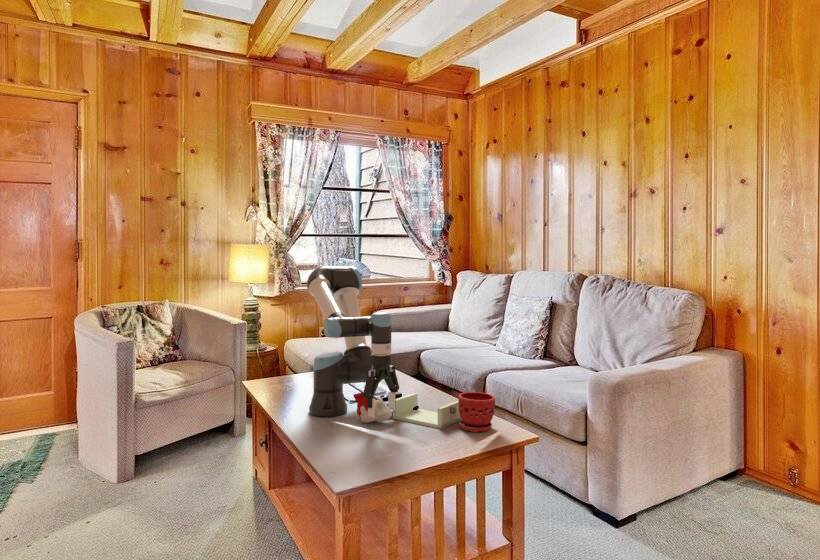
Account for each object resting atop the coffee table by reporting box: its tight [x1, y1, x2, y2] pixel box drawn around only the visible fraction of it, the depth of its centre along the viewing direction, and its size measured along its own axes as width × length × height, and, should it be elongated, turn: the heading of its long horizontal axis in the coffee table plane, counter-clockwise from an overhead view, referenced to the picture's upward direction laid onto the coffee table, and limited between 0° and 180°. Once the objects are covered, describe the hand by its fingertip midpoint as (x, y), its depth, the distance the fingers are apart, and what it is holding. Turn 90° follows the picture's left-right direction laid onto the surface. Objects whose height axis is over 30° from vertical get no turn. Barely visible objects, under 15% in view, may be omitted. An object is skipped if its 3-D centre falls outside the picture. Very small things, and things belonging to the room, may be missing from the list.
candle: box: [353, 391, 393, 424], centre depth 190 cm, size 9×11×15 cm
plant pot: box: [457, 391, 496, 433], centre depth 183 cm, size 13×13×12 cm
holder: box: [392, 393, 462, 430], centre depth 194 cm, size 25×14×7 cm, turn 53°
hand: (381, 412), depth 190 cm, fingers open, 11 cm apart
